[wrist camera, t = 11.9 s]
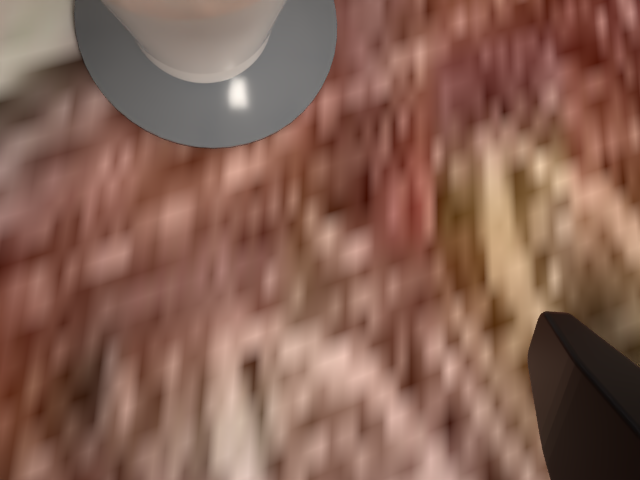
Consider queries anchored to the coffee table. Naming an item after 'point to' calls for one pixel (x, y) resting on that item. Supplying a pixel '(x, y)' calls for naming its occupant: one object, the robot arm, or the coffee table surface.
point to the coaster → (212, 98)
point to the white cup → (199, 34)
